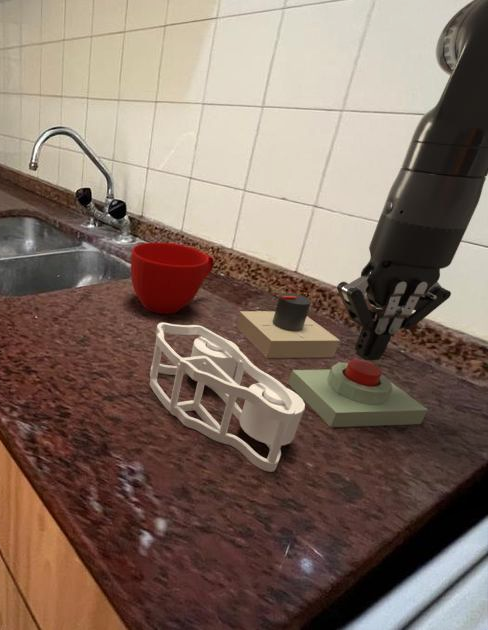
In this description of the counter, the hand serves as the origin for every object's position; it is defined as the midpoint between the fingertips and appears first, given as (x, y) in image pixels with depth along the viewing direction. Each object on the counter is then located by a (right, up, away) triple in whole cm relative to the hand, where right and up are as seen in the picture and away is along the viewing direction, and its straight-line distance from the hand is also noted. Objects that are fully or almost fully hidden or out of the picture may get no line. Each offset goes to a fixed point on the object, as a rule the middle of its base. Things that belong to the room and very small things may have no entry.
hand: (366, 356), depth 55 cm
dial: (-2, +4, +15) cm, 16 cm away
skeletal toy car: (-19, -7, -1) cm, 20 cm away
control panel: (-2, +1, +17) cm, 17 cm away
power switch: (0, -6, +2) cm, 7 cm away
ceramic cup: (-18, +7, +27) cm, 33 cm away
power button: (0, -3, +1) cm, 3 cm away
